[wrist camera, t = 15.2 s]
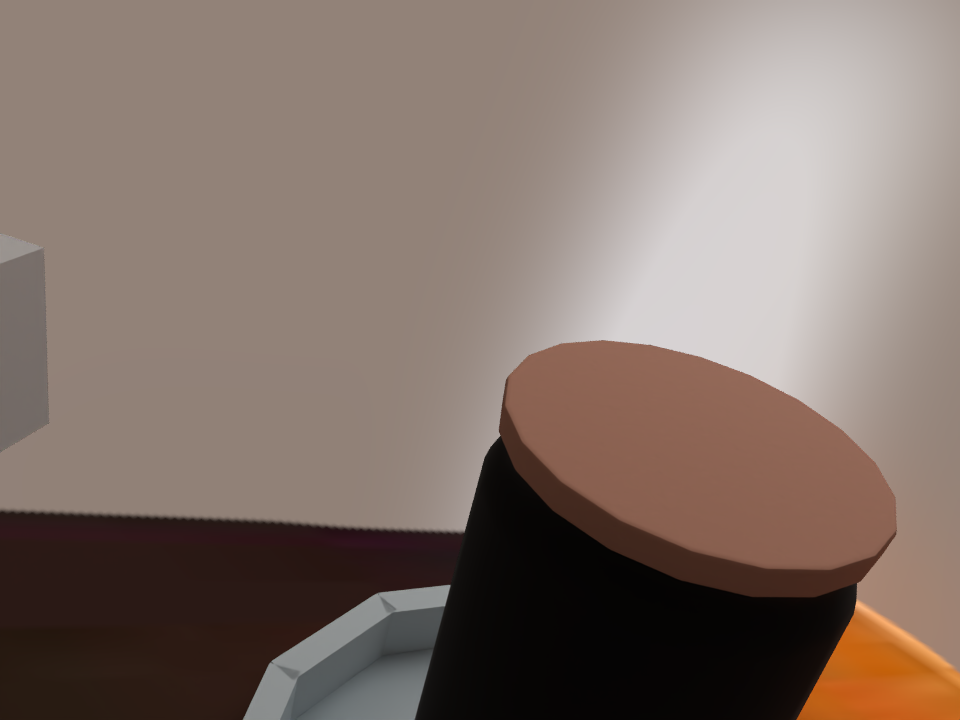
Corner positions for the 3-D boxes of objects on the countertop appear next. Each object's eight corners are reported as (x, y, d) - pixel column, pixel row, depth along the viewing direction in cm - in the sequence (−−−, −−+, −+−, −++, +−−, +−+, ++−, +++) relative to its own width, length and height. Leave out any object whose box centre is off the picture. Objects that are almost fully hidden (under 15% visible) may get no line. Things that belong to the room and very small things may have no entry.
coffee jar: (717, 837, 34) (924, 448, 26) (604, 1106, 25) (862, 649, 17) (485, 685, 38) (602, 308, 30) (320, 871, 30) (422, 414, 22)
